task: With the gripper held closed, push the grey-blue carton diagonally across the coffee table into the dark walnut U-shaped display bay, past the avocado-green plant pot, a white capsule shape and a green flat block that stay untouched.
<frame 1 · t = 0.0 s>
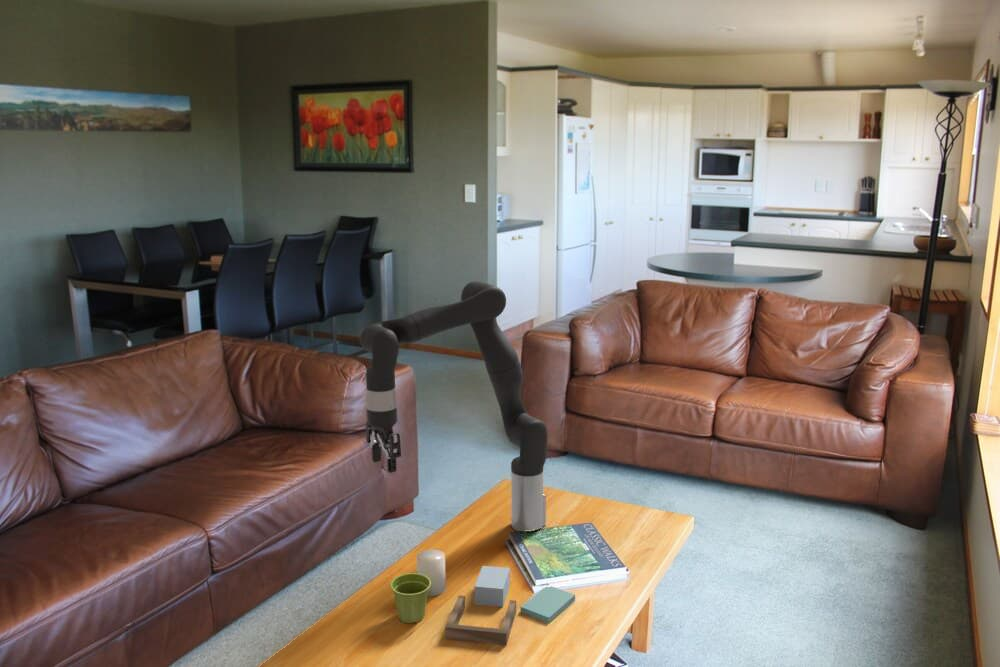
hand: (384, 466, 210), 29 cm above the table, fingers open, 8 cm apart
plant pot: (412, 617, 196), on the table
carton: (492, 595, 205), on the table
white capsule shape: (431, 588, 208), on the table
green flat block: (548, 608, 200), on the table
display bay: (482, 623, 193), on the table
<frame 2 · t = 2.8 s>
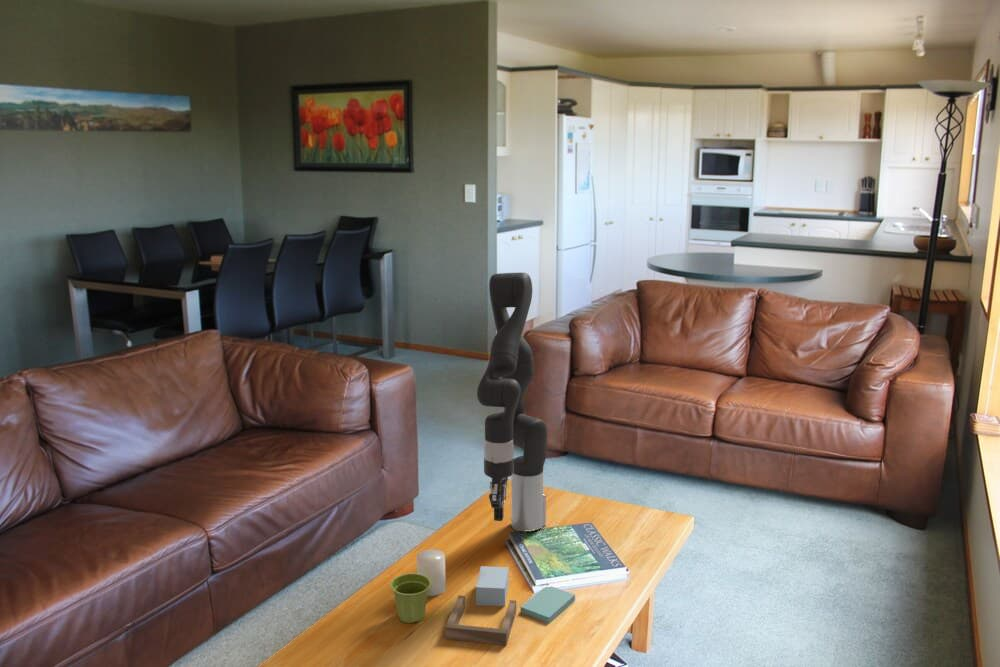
hand: (498, 519, 211), 15 cm above the table, fingers closed
nothing on the table moved.
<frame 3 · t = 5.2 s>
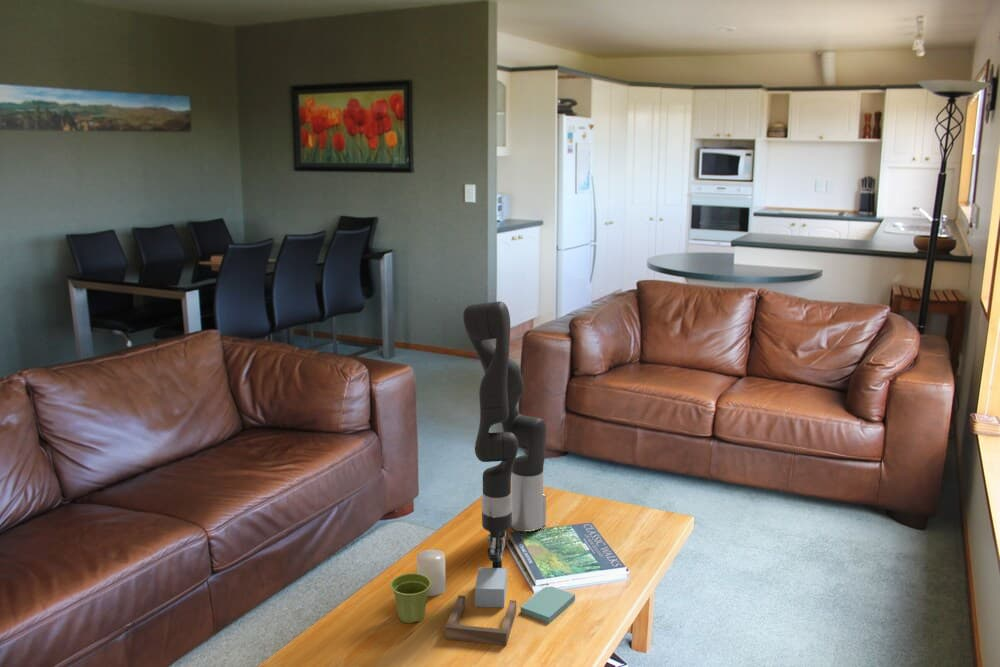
hand: (497, 571, 211), 3 cm above the table, fingers closed
carton: (491, 596, 205), on the table, touching gripper
everything else where it was.
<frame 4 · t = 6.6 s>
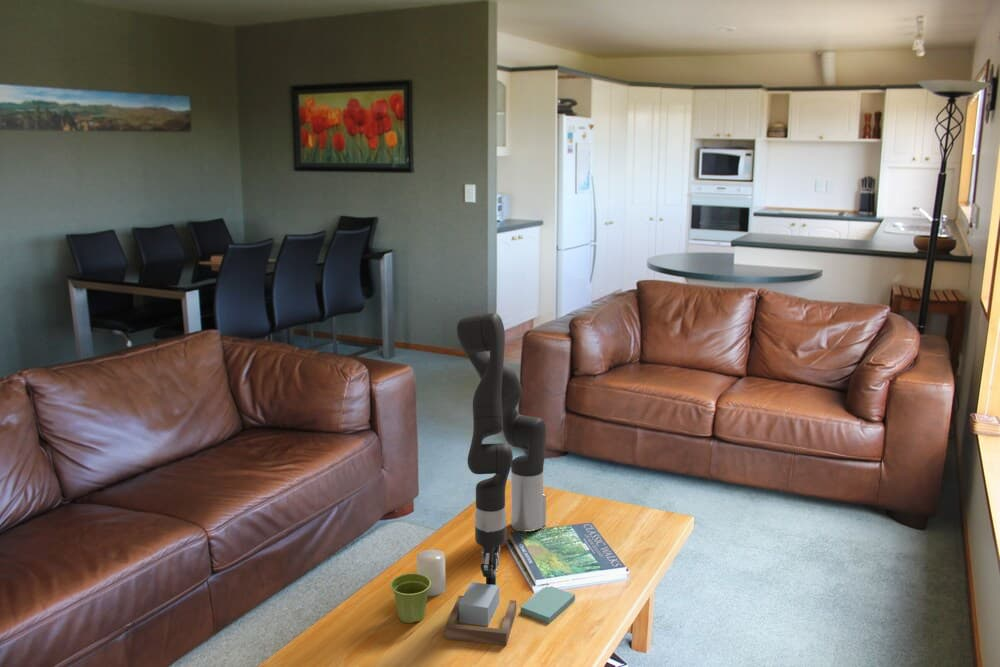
hand: (491, 587, 203), 3 cm above the table, fingers closed
carton: (479, 613, 198), on the table
everything else where it was.
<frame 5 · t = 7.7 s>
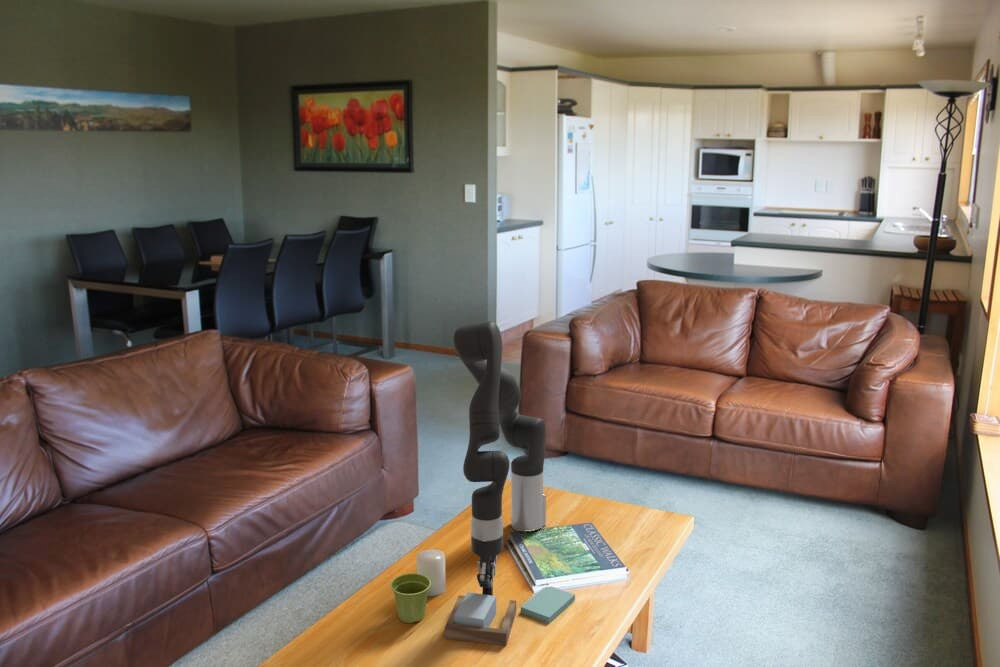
hand: (487, 597, 199), 3 cm above the table, fingers closed
carton: (475, 624, 193), on the table
everything else where it was.
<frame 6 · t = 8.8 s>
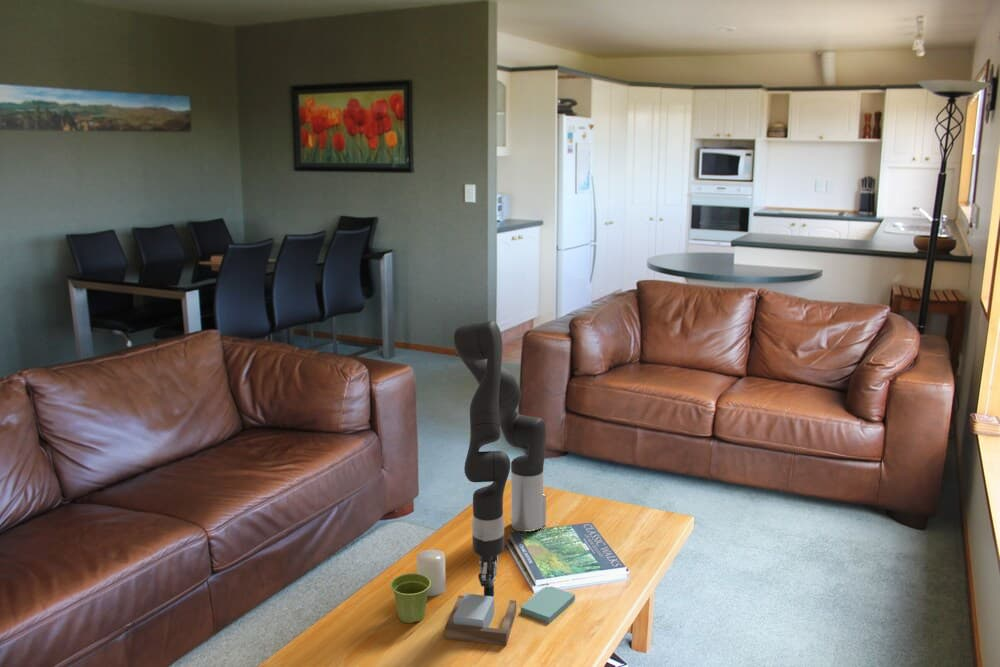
hand: (489, 597, 200), 2 cm above the table, fingers closed
nothing on the table moved.
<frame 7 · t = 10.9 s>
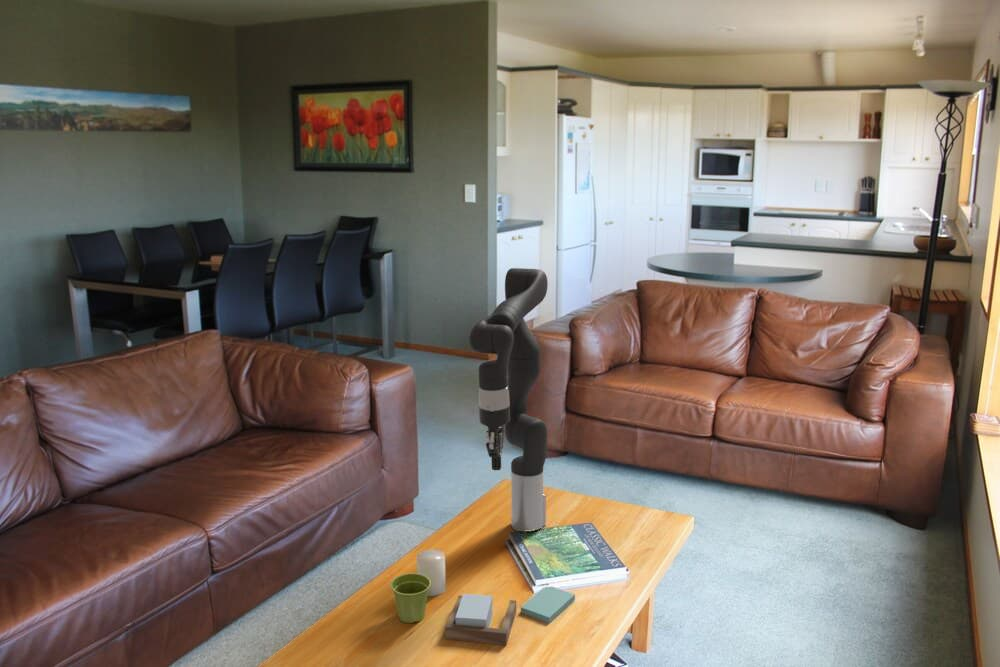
hand: (496, 468, 208), 29 cm above the table, fingers closed
nothing on the table moved.
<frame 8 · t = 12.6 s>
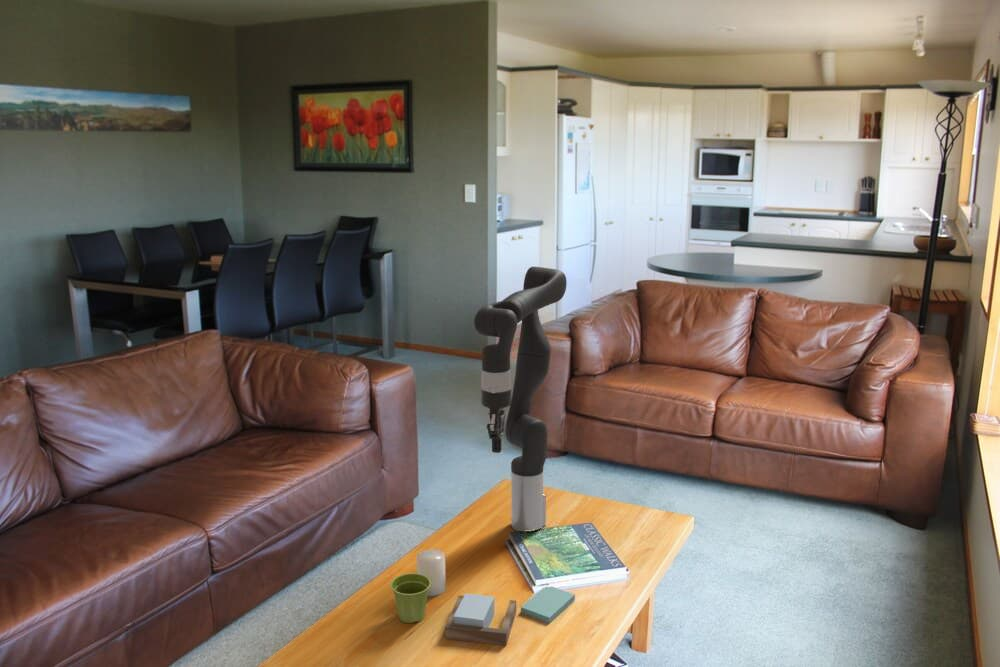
hand: (496, 451, 212), 32 cm above the table, fingers closed
nothing on the table moved.
at the end: carton 1.9 cm from the display bay (horizontally); carton tilted 0°; carton moved 13.6 cm from its start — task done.
